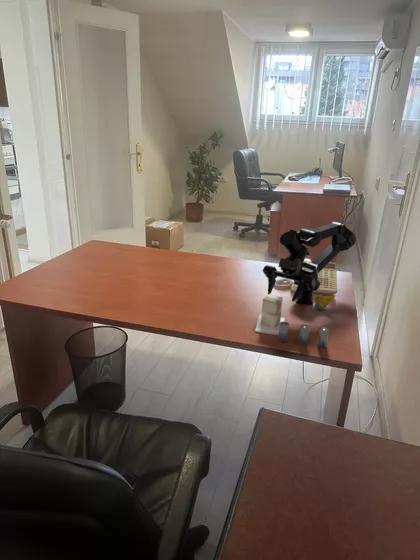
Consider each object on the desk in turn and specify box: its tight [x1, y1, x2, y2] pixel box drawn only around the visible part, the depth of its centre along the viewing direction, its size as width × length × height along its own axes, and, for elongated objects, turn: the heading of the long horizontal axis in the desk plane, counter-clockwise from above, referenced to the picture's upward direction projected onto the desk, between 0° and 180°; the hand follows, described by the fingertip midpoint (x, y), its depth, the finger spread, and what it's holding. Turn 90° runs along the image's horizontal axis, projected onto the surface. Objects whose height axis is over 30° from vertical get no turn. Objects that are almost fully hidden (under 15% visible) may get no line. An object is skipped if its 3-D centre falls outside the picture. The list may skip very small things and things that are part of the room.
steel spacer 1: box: [277, 321, 290, 343], centre depth 129 cm, size 3×3×6 cm
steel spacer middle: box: [297, 323, 311, 346], centre depth 128 cm, size 3×3×6 cm
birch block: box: [261, 293, 283, 329], centre depth 137 cm, size 5×5×10 cm
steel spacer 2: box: [316, 326, 330, 349], centre depth 127 cm, size 3×3×6 cm
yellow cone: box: [313, 294, 336, 311], centre depth 151 cm, size 5×5×10 cm
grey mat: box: [254, 313, 286, 336], centre depth 139 cm, size 12×9×1 cm
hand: (280, 297), depth 141 cm, fingers open, 9 cm apart
